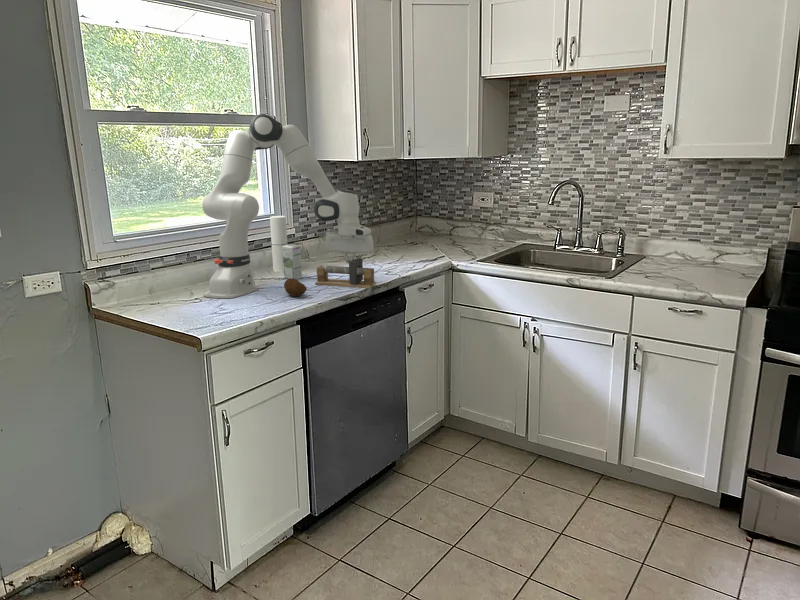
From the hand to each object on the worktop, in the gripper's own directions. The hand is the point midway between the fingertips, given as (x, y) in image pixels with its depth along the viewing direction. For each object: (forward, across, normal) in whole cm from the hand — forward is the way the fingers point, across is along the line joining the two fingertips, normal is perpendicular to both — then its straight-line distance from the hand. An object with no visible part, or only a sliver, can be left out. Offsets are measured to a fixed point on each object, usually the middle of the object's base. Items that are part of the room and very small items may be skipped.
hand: (350, 262), depth 251 cm
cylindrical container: (+10, -42, +18) cm, 47 cm away
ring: (+8, +3, 0) cm, 8 cm away
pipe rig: (+9, -2, 0) cm, 9 cm away
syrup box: (+9, -29, +5) cm, 31 cm away
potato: (+9, -14, -23) cm, 29 cm away
